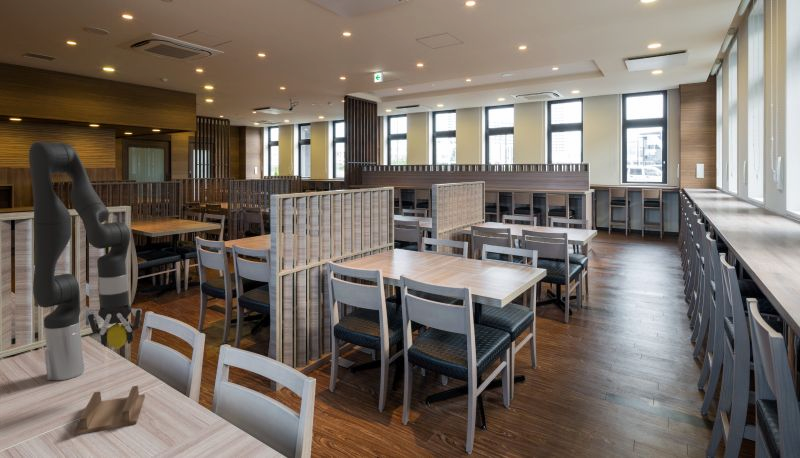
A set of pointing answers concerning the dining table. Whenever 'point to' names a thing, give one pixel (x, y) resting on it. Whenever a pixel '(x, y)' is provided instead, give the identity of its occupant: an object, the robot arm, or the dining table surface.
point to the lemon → (117, 335)
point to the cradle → (110, 412)
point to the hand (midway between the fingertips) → (117, 343)
